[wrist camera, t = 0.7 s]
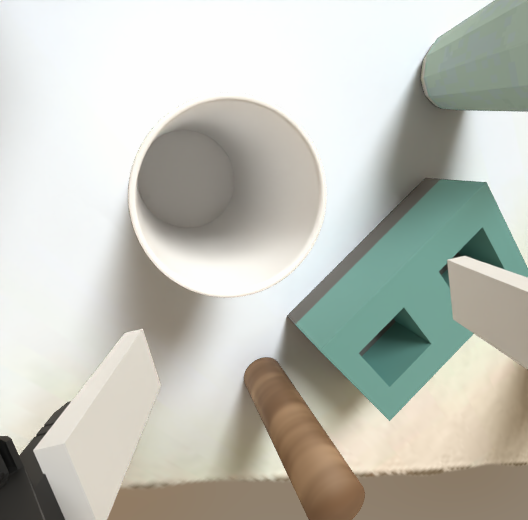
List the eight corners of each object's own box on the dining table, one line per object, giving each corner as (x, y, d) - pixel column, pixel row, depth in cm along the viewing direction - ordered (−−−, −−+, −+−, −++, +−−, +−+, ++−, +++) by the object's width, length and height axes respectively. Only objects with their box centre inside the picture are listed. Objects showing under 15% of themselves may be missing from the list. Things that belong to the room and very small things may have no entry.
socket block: (287, 315, 35) (319, 350, 29) (425, 178, 36) (486, 182, 30) (349, 379, 40) (389, 420, 34) (470, 256, 41) (530, 274, 35)
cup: (221, 116, 28) (309, 72, 14) (246, 214, 31) (340, 263, 17) (117, 140, 26) (91, 118, 12) (153, 242, 29) (168, 326, 15)
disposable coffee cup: (461, 146, 37) (652, 138, 23) (381, 107, 33) (554, 70, 19) (502, 38, 35) (736, -39, 21) (423, -17, 31) (648, -156, 17)
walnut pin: (235, 378, 35) (297, 517, 22) (264, 350, 35) (343, 469, 22) (261, 398, 37) (332, 539, 23) (288, 371, 37) (375, 495, 23)
